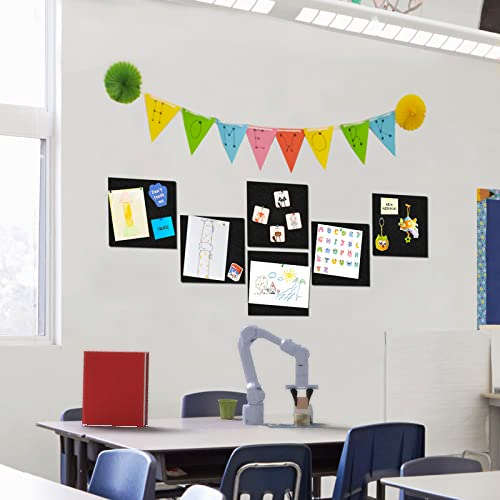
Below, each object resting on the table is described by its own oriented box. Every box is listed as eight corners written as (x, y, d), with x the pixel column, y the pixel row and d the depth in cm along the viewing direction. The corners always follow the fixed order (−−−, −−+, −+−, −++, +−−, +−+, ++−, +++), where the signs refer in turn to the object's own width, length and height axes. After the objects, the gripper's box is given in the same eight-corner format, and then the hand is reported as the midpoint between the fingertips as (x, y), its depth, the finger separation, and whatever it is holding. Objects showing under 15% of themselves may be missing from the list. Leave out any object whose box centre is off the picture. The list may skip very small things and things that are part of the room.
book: (147, 426, 437) (149, 351, 440) (143, 427, 429) (144, 352, 432) (86, 424, 441) (88, 350, 443) (80, 426, 433) (82, 351, 435)
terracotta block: (297, 409, 442) (297, 397, 442) (295, 408, 446) (295, 397, 447) (307, 409, 443) (307, 397, 443) (305, 408, 447) (305, 397, 448)
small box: (313, 412, 459) (311, 403, 450) (312, 424, 456) (311, 415, 448) (296, 411, 461) (293, 403, 452) (295, 423, 458) (293, 414, 449)
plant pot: (240, 418, 478) (241, 400, 478) (231, 420, 469) (232, 401, 470) (223, 417, 482) (223, 399, 482) (214, 419, 473) (214, 400, 474)
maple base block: (296, 426, 441) (296, 414, 441) (293, 424, 447) (293, 413, 447) (309, 426, 442) (309, 414, 442) (307, 424, 447) (307, 413, 448)
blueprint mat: (270, 429, 432) (270, 427, 432) (263, 425, 448) (263, 423, 448) (324, 428, 436) (324, 427, 436) (316, 425, 452) (316, 423, 452)
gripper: (287, 375, 441) (287, 406, 440) (320, 375, 443) (319, 406, 442) (284, 374, 448) (284, 405, 447) (316, 374, 450) (316, 405, 449)
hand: (301, 406), depth 445 cm, fingers closed on terracotta block, 4 cm apart
